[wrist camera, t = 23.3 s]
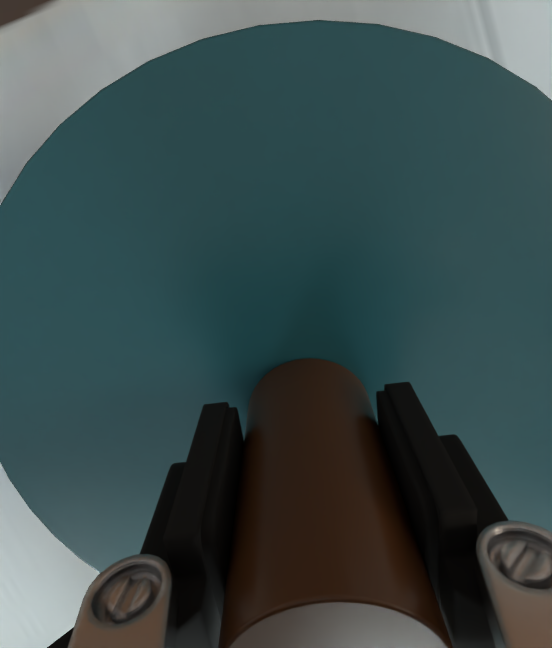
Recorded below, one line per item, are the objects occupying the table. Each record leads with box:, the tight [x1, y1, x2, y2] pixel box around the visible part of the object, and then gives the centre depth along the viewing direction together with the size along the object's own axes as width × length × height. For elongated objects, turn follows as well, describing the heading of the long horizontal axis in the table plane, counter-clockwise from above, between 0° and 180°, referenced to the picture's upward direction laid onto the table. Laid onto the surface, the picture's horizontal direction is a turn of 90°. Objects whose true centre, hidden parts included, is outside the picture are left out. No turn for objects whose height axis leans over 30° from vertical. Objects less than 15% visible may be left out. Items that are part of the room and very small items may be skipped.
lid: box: [0, 20, 552, 648], centre depth 10 cm, size 18×18×8 cm
